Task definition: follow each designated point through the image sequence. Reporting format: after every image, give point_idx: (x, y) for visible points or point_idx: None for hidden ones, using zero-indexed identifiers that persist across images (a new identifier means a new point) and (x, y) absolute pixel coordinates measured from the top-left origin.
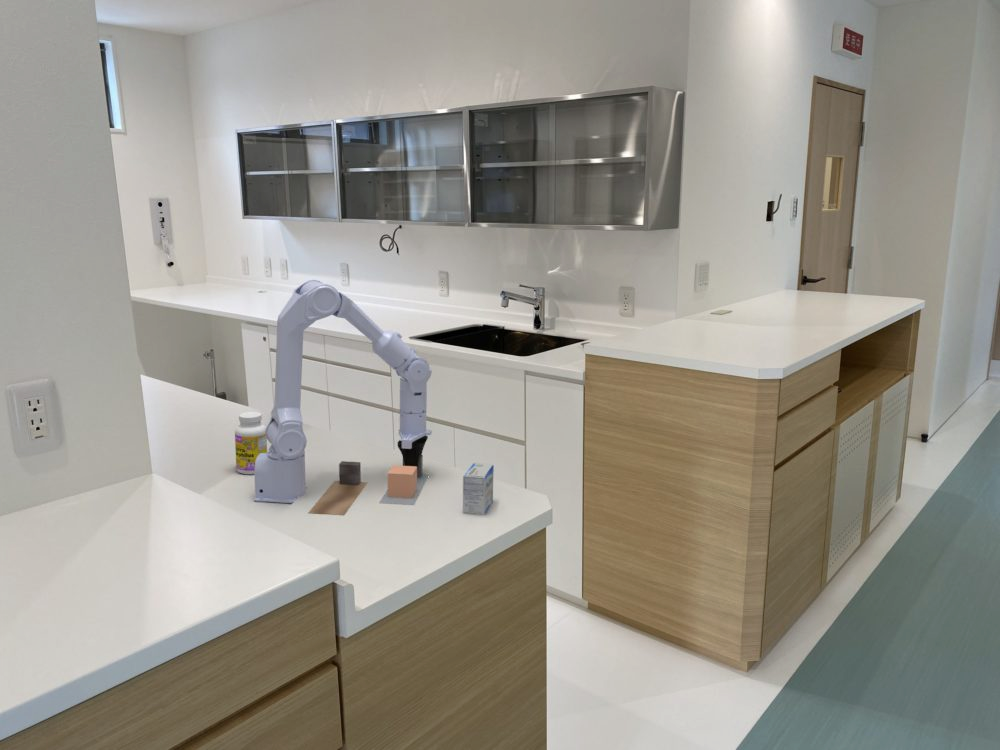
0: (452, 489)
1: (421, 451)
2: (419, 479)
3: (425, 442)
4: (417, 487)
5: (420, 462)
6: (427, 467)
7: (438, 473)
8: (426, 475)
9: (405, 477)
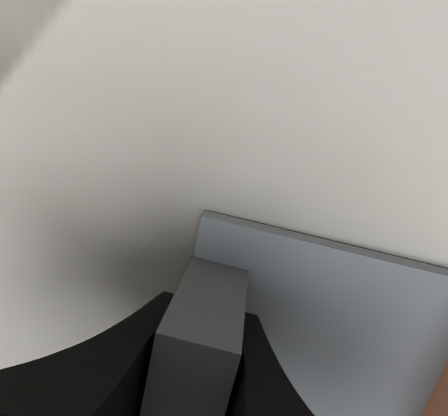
0: (428, 72)
1: (132, 362)
2: (290, 281)
3: (34, 387)
4: (437, 305)
5: (241, 330)
6: (14, 203)
7: (115, 145)
8: (220, 234)
9: None
